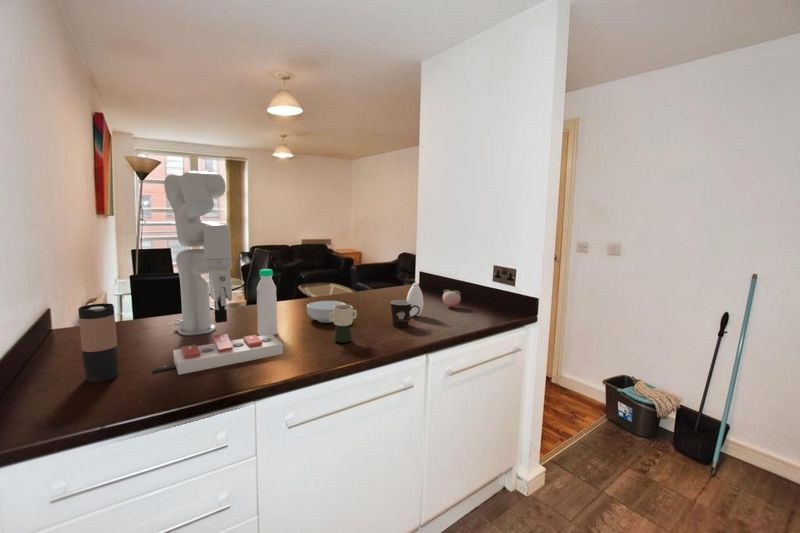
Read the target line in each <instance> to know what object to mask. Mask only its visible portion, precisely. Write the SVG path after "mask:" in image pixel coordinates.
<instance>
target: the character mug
mask: <svg viewBox="0 0 800 533" xmlns="http://www.w3.org/2000/svg"><path fill="white" fill-rule="evenodd" d="M332 315H333V319H331V316H332ZM357 316H358V311H357V310H356V309H354V307H353V305H351V304H346V305H335V306H334V307H333V313H329V323H333V324H334V325H335V326H336V327H335V331H334V339H333V340H334V341H336V342H338V343H349V342H350V341H352V339H353V338H352V331H351V327H350V325H352V324H353V323H354V322H353V321H354V320H355V319H357Z"/></svg>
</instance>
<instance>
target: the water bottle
mask: <svg viewBox="0 0 800 533" xmlns="http://www.w3.org/2000/svg"><path fill="white" fill-rule="evenodd" d="M273 271H274V270H273V269H272V268H263V269H260V270H259V272H258V273H259V277H260V280H259V282H258V285H257V287H256V292H257V293H256V309H257V310H256V311H257V336H262V335H268V334H272V335H273V336H275V335H277V333H278V325H277V324H278V316H277V312H278V310H277V309H278V307H277V306H278V305H277V304H278V303H277V300H278V299H277V286H276V284H275V283H274V280H273V278H272V277H273V275H274V272H273Z"/></svg>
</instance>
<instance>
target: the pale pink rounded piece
mask: <svg viewBox="0 0 800 533" xmlns="http://www.w3.org/2000/svg"><path fill="white" fill-rule="evenodd" d="M442 293H443V294H442V302H443V304H445V305H446V306H447V307H449V308H451V309H452V308H454V307H456V306H458V305H459V304H460V302H461V295H462V293H461V292H460V291H459V290H452V289H451V290H450V289H444V290H443V291H442Z"/></svg>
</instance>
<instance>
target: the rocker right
mask: <svg viewBox="0 0 800 533" xmlns="http://www.w3.org/2000/svg"><path fill="white" fill-rule="evenodd" d="M257 336H258V335H257V334H252V335H246V336H243V337H242V339H243V340H244V341H245V342H246V343H247V344H248V346H249V347H251V346H256V345H262V341H261V340H260V339H259V338H258V337H257Z"/></svg>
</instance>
